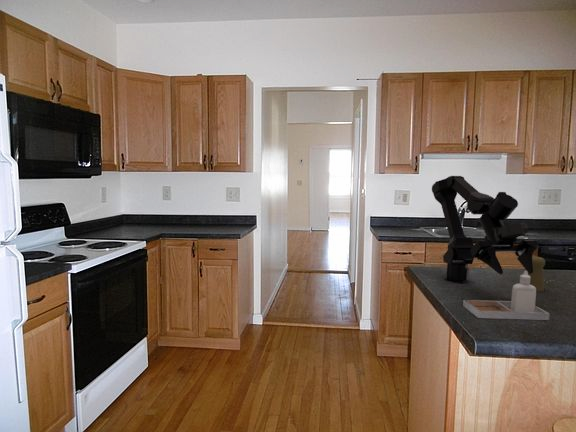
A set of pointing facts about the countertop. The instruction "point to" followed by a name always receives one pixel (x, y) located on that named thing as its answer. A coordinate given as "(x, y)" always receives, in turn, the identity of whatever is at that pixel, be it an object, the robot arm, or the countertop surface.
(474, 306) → the tray
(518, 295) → the eye dropper bottle
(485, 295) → the countertop surface
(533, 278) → the cork
